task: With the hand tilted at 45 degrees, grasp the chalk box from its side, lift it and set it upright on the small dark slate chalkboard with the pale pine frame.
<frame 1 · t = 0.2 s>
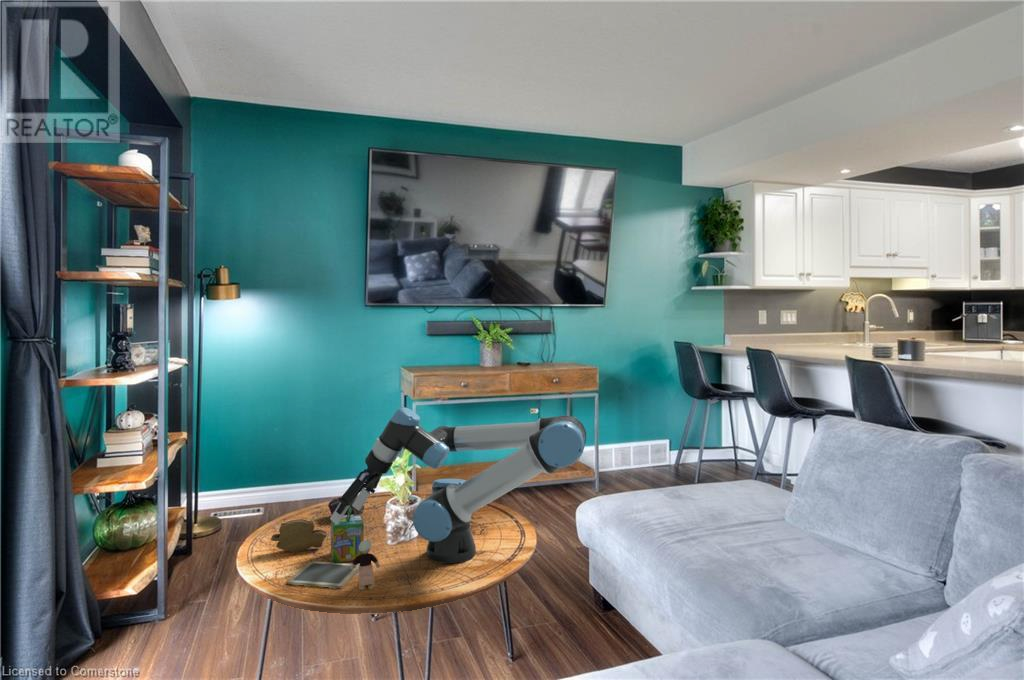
hand: (345, 514, 170), 15 cm above the table, tool tilted 35°, fingers open, 13 cm apart
chalk box: (347, 557, 176), on the table
wooden carving: (299, 551, 181), on the table
grandmother figurine: (364, 587, 155), on the table
chalkboard: (325, 575, 162), on the table
rock: (345, 519, 211), on the table
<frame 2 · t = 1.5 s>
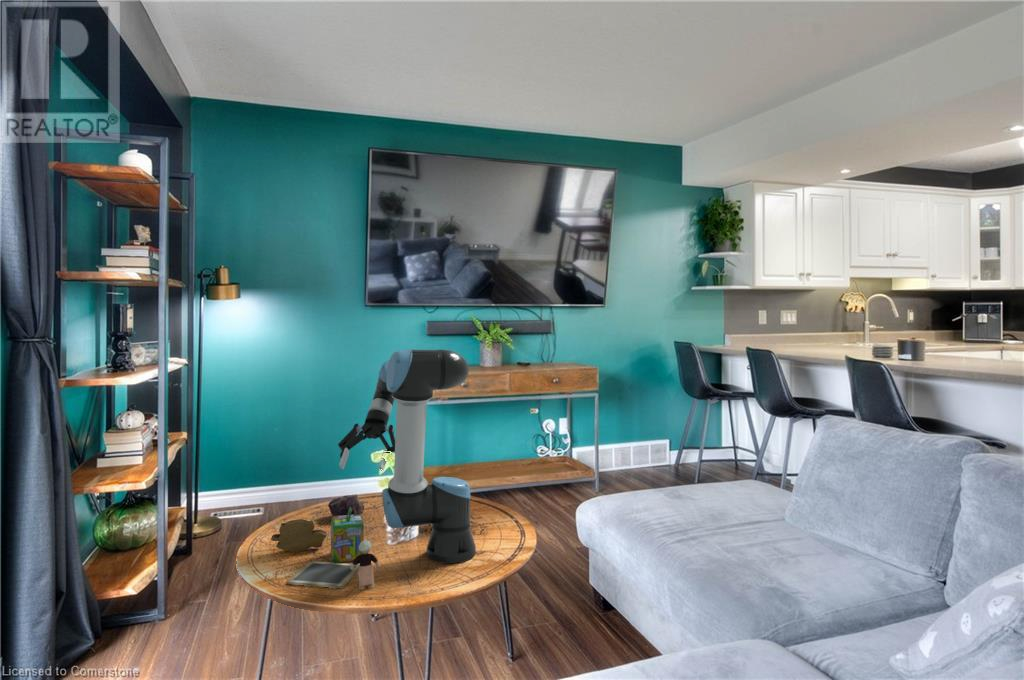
hand: (361, 468, 186), 25 cm above the table, tool tilted 45°, fingers open, 13 cm apart
nothing on the table moved.
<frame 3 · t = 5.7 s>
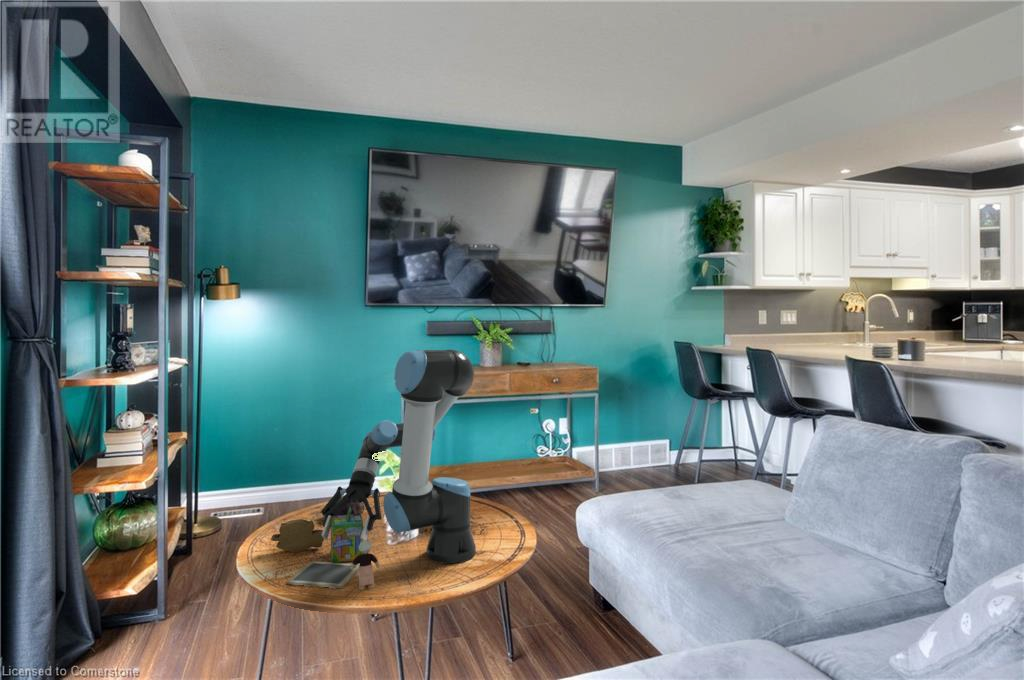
hand: (343, 538, 173), 6 cm above the table, tool tilted 45°, fingers closed on chalk box, 12 cm apart
chalk box: (346, 557, 176), on the table, touching gripper
everything else where it was.
when the fingers open (8 cm above the table, at t = 11.9 s): chalk box drops 1 cm, resting on chalkboard.
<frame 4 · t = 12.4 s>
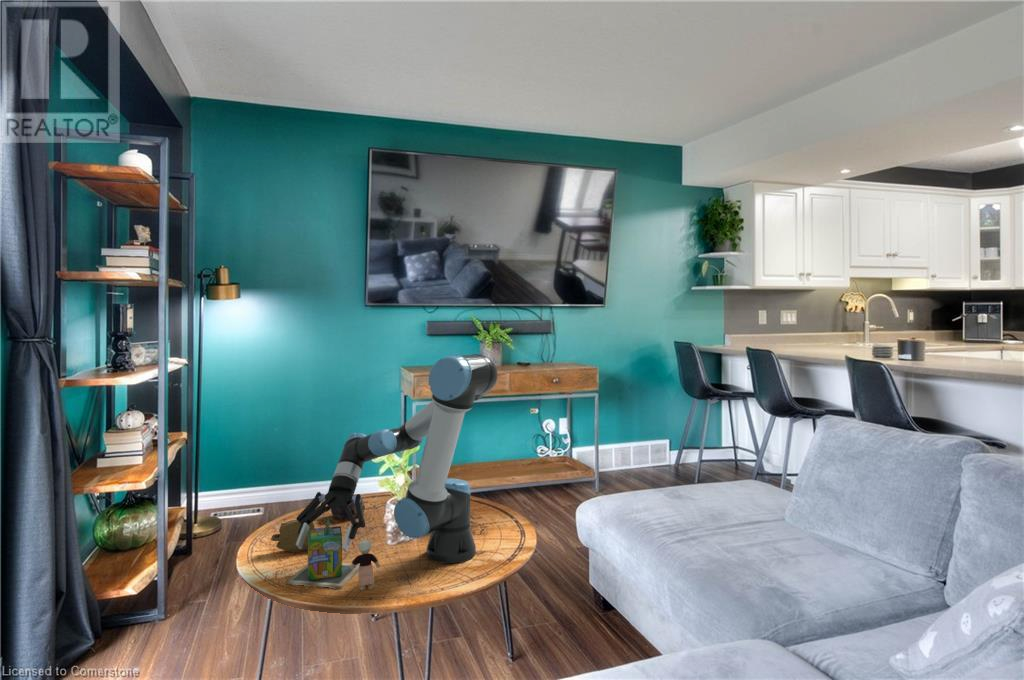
hand: (321, 548, 160), 9 cm above the table, tool tilted 45°, fingers open, 13 cm apart
chalk box: (324, 573, 163), point 1 cm above the table, touching chalkboard
everything else where it was.
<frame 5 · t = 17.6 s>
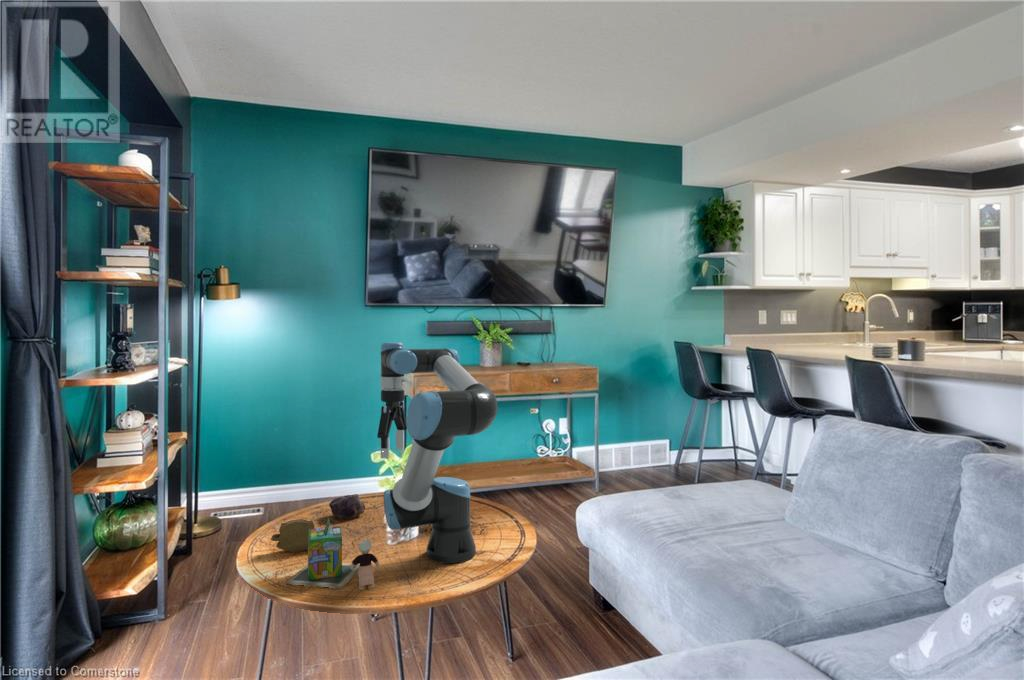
hand: (392, 453, 189), 29 cm above the table, tool pointing down, fingers open, 13 cm apart
nothing on the table moved.
at the end: chalk box inside the target area on the chalkboard (0.2 cm from its centre), point 0.6 cm above the chalkboard's base; chalk box tilted 0°; the gripper is holding nothing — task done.
